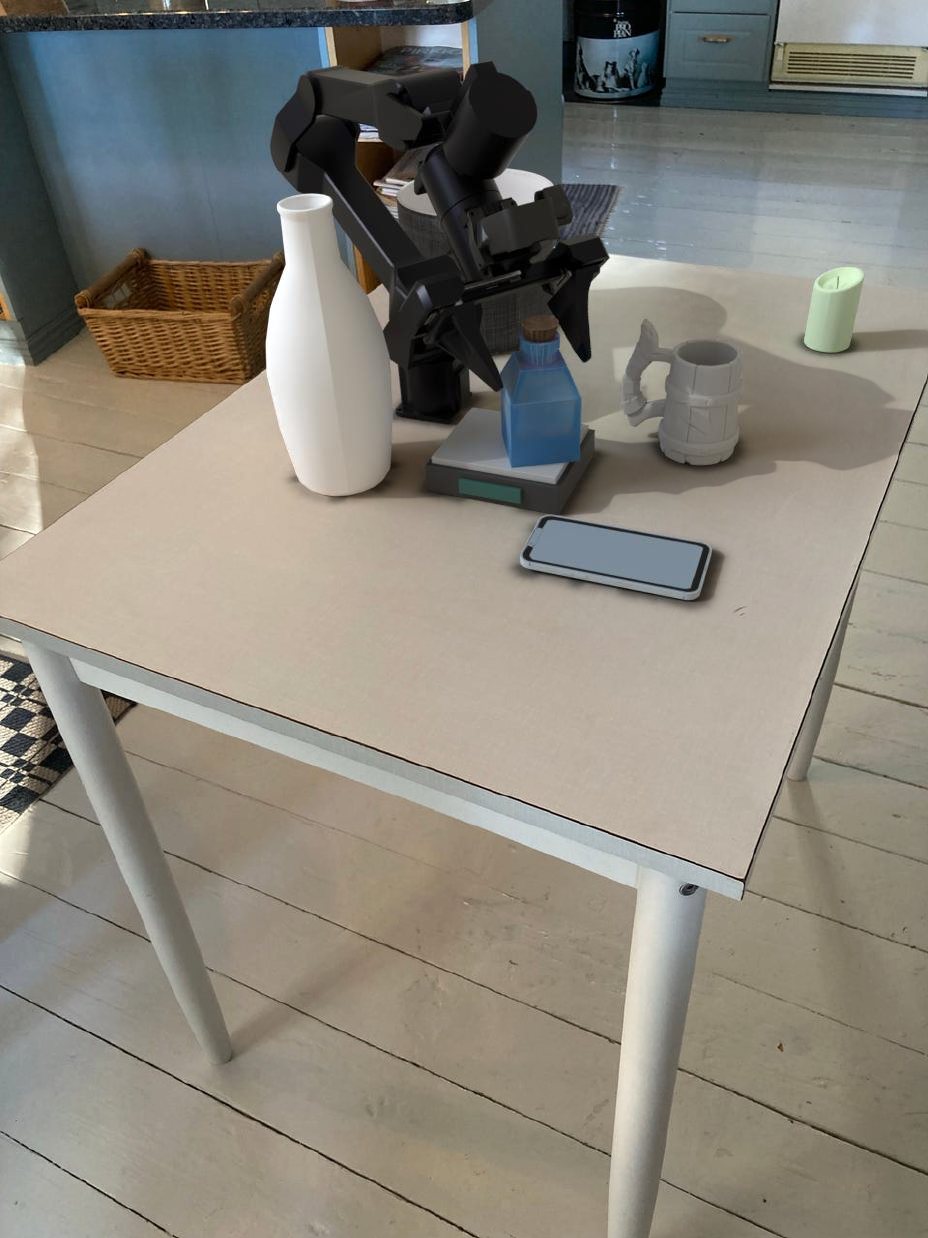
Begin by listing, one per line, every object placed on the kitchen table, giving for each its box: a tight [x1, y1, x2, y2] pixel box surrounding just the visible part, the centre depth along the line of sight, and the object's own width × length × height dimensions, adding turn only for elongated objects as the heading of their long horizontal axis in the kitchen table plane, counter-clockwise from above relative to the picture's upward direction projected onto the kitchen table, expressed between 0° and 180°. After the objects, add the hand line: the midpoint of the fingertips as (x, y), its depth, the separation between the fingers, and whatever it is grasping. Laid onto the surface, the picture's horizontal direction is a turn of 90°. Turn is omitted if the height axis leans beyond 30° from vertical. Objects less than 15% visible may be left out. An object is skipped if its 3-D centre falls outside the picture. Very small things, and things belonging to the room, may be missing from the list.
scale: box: [424, 406, 596, 516], centre depth 94 cm, size 13×11×4 cm
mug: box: [620, 318, 744, 466], centre depth 94 cm, size 8×12×12 cm, turn 65°
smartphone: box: [519, 514, 713, 601], centre depth 83 cm, size 7×1×15 cm
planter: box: [395, 167, 555, 355], centre depth 117 cm, size 18×18×16 cm
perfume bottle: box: [499, 315, 582, 468], centre depth 88 cm, size 6×6×12 cm
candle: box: [803, 266, 865, 354], centre depth 110 cm, size 5×5×8 cm
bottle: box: [265, 193, 394, 497], centre depth 88 cm, size 11×11×25 cm
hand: (544, 375), depth 86 cm, fingers open, 9 cm apart
